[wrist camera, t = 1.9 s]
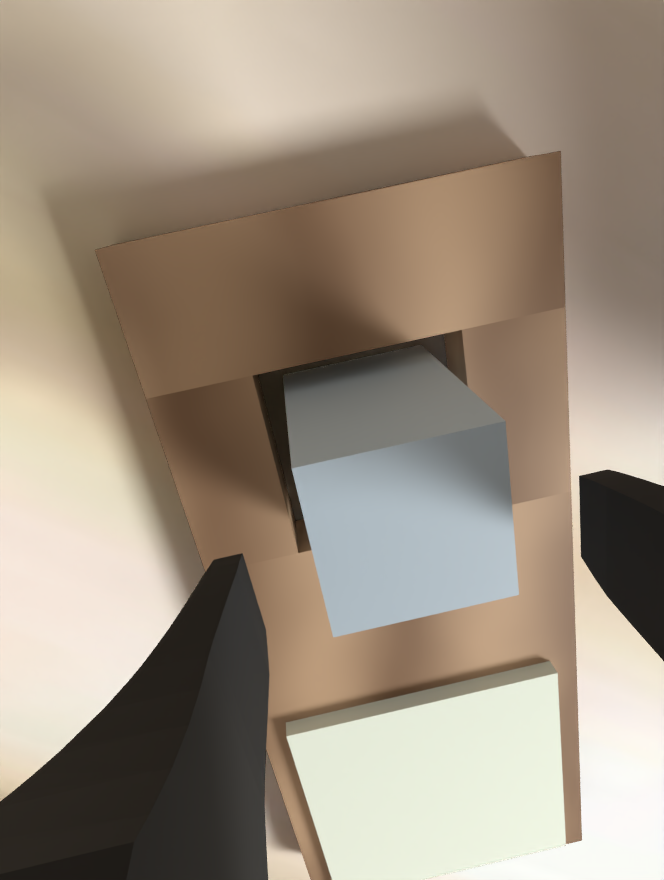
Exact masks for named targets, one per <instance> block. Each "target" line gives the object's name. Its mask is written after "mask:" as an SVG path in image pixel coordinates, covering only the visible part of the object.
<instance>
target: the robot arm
mask: <svg viewBox="0 0 664 880" xmlns="http://www.w3.org/2000/svg"><path fill="white" fill-rule="evenodd" d="M579 486H580V528H581V557H582V559H583V560H584V562H585V563H586V565H587V567H588V568H589V570H590V571H591V573H592V574H593V576H594V578H595V579H596V581H597V582H598V583H599V585H600V586H601V588H602V589H603V591H604V592H605V594H606V595H607V596H608V598H609V599H610V600H611V601H612V602H613V604H614V605H615V606H616V607H617V608H618V609H619V611H620V612H621V613H622V614H623V615H624V616H625V617H626V619H627V620H628V621H629V622H630V623H631V624H632V626H633V627H634V628H635V629H636V630H637V631H638V632H639V634H640V635H641V636H642V637H643V638H644V639H645V640H646V641H647V643H648V644H649V645H650V646H651V647H652V648H653V649H654V651H655V652H656V653H657V654H658V655H659V656H660V657H661V658H662V660H663V661H664V486H661V485H658V484H655V483H652V482H649V481H646V480H643V479H640V478H637V477H633V476H630V475H627V474H623V473H620V472H616V471H611V470H604V471H599V472H595V473H590V474H586V475H582V476H579ZM269 675H270V674H269V660H268V647H267V635H266V628H265V625H264V621H263V618H262V615H261V612H260V608H259V605H258V602H257V599H256V595H255V592H254V589H253V586H252V582H251V579H250V576H249V573H248V569H247V566H246V563H245V560H244V556H243V553H241V554H236V555H232V556H227V557H223V558H219V559H214V560H213V561H212V563H211V564H210V566H209V567H208V569H207V570H206V572H205V574H204V575H203V577H202V578H201V580H200V582H199V583H198V585H197V586H196V588H195V590H194V591H193V593H192V594H191V596H190V598H189V599H188V601H187V602H186V604H185V605H184V607H183V608H182V610H181V611H180V613H179V614H178V616H177V617H176V619H175V621H174V622H173V624H172V625H171V627H170V628H169V629H168V631H167V632H166V634H165V635H164V636H163V638H162V639H161V640H160V642H159V643H158V645H157V646H156V647H155V649H154V650H153V651H152V653H151V654H150V655H149V657H148V658H147V659H146V661H145V662H144V663H143V664H142V666H141V667H140V668H139V669H138V671H137V672H136V673H135V674H134V675H133V677H132V678H131V679H130V680H129V681H128V682H127V684H126V685H125V686H124V687H123V688H122V689H121V690H120V691H119V692H118V694H117V695H116V696H115V697H114V698H113V699H112V700H111V701H110V702H109V704H108V705H107V706H106V707H105V708H104V709H103V710H102V711H101V712H100V713H99V714H98V715H97V716H96V717H95V718H94V719H93V720H92V721H91V722H90V723H89V724H88V725H87V726H86V727H84V728H83V729H82V730H81V731H80V732H79V733H78V734H77V735H76V736H75V737H74V738H73V739H72V740H71V741H70V742H69V743H68V744H67V745H66V746H65V747H64V748H63V749H62V750H61V751H60V752H59V753H57V754H56V755H55V756H54V757H53V758H52V759H51V760H50V761H48V762H47V763H46V764H45V765H44V766H43V767H42V768H40V769H39V770H38V771H37V772H36V773H35V774H33V775H32V776H31V777H30V778H29V779H27V780H26V781H25V782H24V783H23V784H21V785H20V786H19V787H18V788H17V789H15V790H14V791H13V792H12V793H11V794H9V795H8V796H7V797H6V798H4V799H3V800H2V801H0V880H268V869H267V850H266V829H265V808H264V797H265V763H266V742H267V722H268V700H269Z"/></svg>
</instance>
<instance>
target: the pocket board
mask: <svg viewBox="0 0 664 880" xmlns="http://www.w3.org/2000/svg"><path fill="white" fill-rule="evenodd" d="M95 252H96V255H97V258H98V261H99V263H100V266H101V269H102V272H103V275H104V278H105V281H106V284H107V287H108V290H109V293H110V296H111V298H112V301H113V304H114V307H115V310H116V313H117V316H118V319H119V322H120V325H121V328H122V331H123V333H124V336H125V339H126V342H127V345H128V348H129V351H130V354H131V357H132V360H133V363H134V366H135V368H136V371H137V374H138V377H139V380H140V383H141V386H142V389H143V392H144V395H145V398H146V401H147V403H148V406H149V409H150V412H151V415H152V418H153V421H154V424H155V427H156V430H157V433H158V436H159V438H160V441H161V444H162V447H163V450H164V453H165V456H166V459H167V462H168V465H169V468H170V471H171V473H172V476H173V479H174V482H175V485H176V488H177V491H178V494H179V497H180V500H181V503H182V506H183V508H184V511H185V514H186V517H187V520H188V523H189V526H190V529H191V532H192V535H193V538H194V540H195V543H196V546H197V549H198V552H199V555H200V558H201V561H202V564H203V567H204V570H205V572H206V570H207V569H208V567H209V566H210V564H211V563H212V561H213V560H214V559H219V558H223V557H227V556H232V555H236V554H241V553H243V556H244V560H245V563H246V566H247V569H248V573H249V576H250V579H251V582H252V586H253V589H254V592H255V595H256V599H257V602H258V605H259V608H260V612H261V615H262V618H263V621H264V625H265V628H266V635H267V647H268V660H269V674H270V675H269V700H268V722H267V742H266V750H267V753H268V756H269V759H270V762H271V765H272V768H273V771H274V774H275V777H276V780H277V783H278V785H279V788H280V791H281V794H282V797H283V800H284V803H285V806H286V809H287V812H288V815H289V817H290V820H291V823H292V826H293V829H294V832H295V835H296V838H297V841H298V844H299V847H300V850H301V852H302V855H303V858H304V861H305V864H306V867H307V870H308V873H309V876H310V879H311V880H332V878H331V875H330V872H329V869H328V866H327V863H326V859H325V856H324V853H323V850H322V847H321V844H320V841H319V837H318V834H317V831H316V828H315V825H314V822H313V819H312V815H311V812H310V809H309V806H308V803H307V800H306V797H305V794H304V790H303V787H302V784H301V781H300V778H299V775H298V772H297V768H296V765H295V762H294V759H293V756H292V753H291V750H290V746H289V743H288V740H287V737H286V722H290V721H294V720H299V719H303V718H307V717H312V716H316V715H320V714H324V713H329V712H333V711H337V710H342V709H346V708H350V707H354V706H359V705H363V704H367V703H372V702H376V701H380V700H384V699H389V698H393V697H397V696H402V695H406V694H410V693H414V692H419V691H423V690H427V689H432V688H436V687H440V686H444V685H449V684H453V683H457V682H462V681H466V680H470V679H474V678H479V677H483V676H487V675H491V674H496V673H500V672H504V671H509V670H513V669H517V668H521V667H526V666H530V665H534V664H539V663H543V662H547V661H550V662H551V663H552V665H553V666H554V668H555V670H556V671H557V673H558V692H559V712H560V733H561V754H562V774H563V795H564V815H565V836H566V844H569V843H573V842H577V841H581V840H582V830H581V797H580V765H579V732H578V700H577V667H576V635H575V602H574V570H573V537H572V505H571V472H570V440H569V408H568V375H567V343H566V310H565V278H564V245H563V213H562V180H561V151H558V152H552V153H547V154H541V155H535V156H530V157H525V158H520V159H515V160H511V161H506V162H501V163H497V164H492V165H487V166H482V167H478V168H473V169H468V170H464V171H459V172H454V173H449V174H445V175H440V176H435V177H431V178H426V179H421V180H416V181H412V182H407V183H402V184H398V185H393V186H388V187H383V188H379V189H374V190H369V191H365V192H360V193H355V194H351V195H346V196H341V197H336V198H332V199H327V200H322V201H318V202H313V203H308V204H303V205H299V206H294V207H289V208H285V209H280V210H275V211H270V212H266V213H261V214H256V215H252V216H247V217H242V218H237V219H233V220H228V221H223V222H219V223H214V224H209V225H204V226H200V227H195V228H190V229H186V230H181V231H176V232H171V233H167V234H162V235H157V236H153V237H148V238H143V239H138V240H134V241H129V242H124V243H120V244H115V245H111V246H107V247H104V248H100V249H96V250H95ZM440 334H444V340H445V349H446V357H447V366H448V370H450V371H451V372H452V373H453V374H454V375H455V376H456V377H457V378H458V379H460V380H461V381H462V382H463V383H464V384H465V385H466V386H467V387H468V388H469V389H471V390H472V391H473V392H474V393H475V394H476V395H477V396H478V397H479V398H481V399H482V400H483V401H484V402H485V403H486V404H487V405H488V406H489V407H490V408H492V409H493V410H494V411H495V412H496V413H497V414H498V415H499V416H500V417H502V418H503V419H504V420H505V421H506V434H507V447H508V460H509V472H510V485H511V498H512V511H513V523H514V536H515V549H516V562H517V575H518V587H519V595H517V596H512V597H508V598H504V599H499V600H495V601H490V602H486V603H482V604H477V605H473V606H469V607H464V608H460V609H456V610H451V611H447V612H443V613H438V614H434V615H429V616H425V617H421V618H416V619H412V620H408V621H403V622H399V623H395V624H390V625H386V626H381V627H377V628H373V629H368V630H364V631H360V632H355V633H351V634H347V635H342V636H338V637H333V634H332V630H331V626H330V622H329V618H328V614H327V610H326V606H325V602H324V598H323V594H322V590H321V586H320V582H319V578H318V574H317V570H316V566H315V562H314V557H313V553H312V549H311V545H310V541H309V537H308V533H307V529H306V525H305V521H304V519H303V520H299V521H295V518H294V514H293V510H292V506H291V502H290V498H289V494H288V490H287V487H286V483H285V479H284V475H283V471H282V467H281V463H280V459H279V455H278V451H277V447H276V444H275V440H274V436H273V432H272V428H271V424H270V420H269V416H268V412H267V408H266V404H265V400H264V397H263V393H262V389H261V385H260V381H259V377H258V374H262V373H266V372H271V371H276V370H280V369H285V368H289V367H294V366H298V365H303V364H308V363H312V362H317V361H321V360H326V359H330V358H335V357H340V356H344V355H349V354H353V353H358V352H362V351H367V350H372V349H376V348H381V347H385V346H390V345H394V344H399V343H404V342H408V341H413V340H417V339H422V338H426V337H431V336H436V335H440Z"/></svg>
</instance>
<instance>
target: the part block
mask: <svg viewBox="0 0 664 880" xmlns="http://www.w3.org/2000/svg"><path fill="white" fill-rule="evenodd" d="M283 383H284V394H285V405H286V415H287V426H288V436H289V447H290V458H291V468H292V472H293V477H294V481H295V485H296V489H297V493H298V497H299V501H300V505H301V509H302V513H303V517H304V521H305V525H306V529H307V533H308V537H309V541H310V545H311V549H312V553H313V557H314V562H315V566H316V570H317V574H318V578H319V582H320V586H321V590H322V594H323V598H324V602H325V606H326V610H327V614H328V618H329V622H330V626H331V630H332V634H333V637H338V636H342V635H347V634H351V633H355V632H360V631H364V630H368V629H373V628H377V627H381V626H386V625H390V624H395V623H399V622H403V621H408V620H412V619H416V618H421V617H425V616H429V615H434V614H438V613H443V612H447V611H451V610H456V609H460V608H464V607H469V606H473V605H477V604H482V603H486V602H490V601H495V600H499V599H504V598H508V597H512V596H517V595H519V587H518V575H517V562H516V549H515V536H514V523H513V511H512V498H511V485H510V472H509V460H508V447H507V434H506V421H505V420H504V419H503V418H502V417H500V416H499V415H498V414H497V413H496V412H495V411H494V410H493V409H492V408H490V407H489V406H488V405H487V404H486V403H485V402H484V401H483V400H482V399H481V398H479V397H478V396H477V395H476V394H475V393H474V392H473V391H472V390H471V389H469V388H468V387H467V386H466V385H465V384H464V383H463V382H462V381H461V380H460V379H458V378H457V377H456V376H455V375H454V374H453V373H452V372H451V371H450V370H448V369H447V368H446V367H445V366H444V365H443V364H442V363H441V362H440V361H439V360H437V359H436V358H435V357H434V356H433V355H432V354H431V353H430V352H429V351H427V350H426V349H425V348H424V347H423V346H422V345H418V346H413V347H409V348H404V349H400V350H395V351H390V352H386V353H381V354H377V355H372V356H367V357H363V358H358V359H354V360H349V361H345V362H340V363H335V364H331V365H326V366H322V367H317V368H312V369H308V370H303V371H299V372H294V373H290V374H285V375H283Z"/></svg>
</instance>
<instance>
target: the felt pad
mask: <svg viewBox="0 0 664 880" xmlns="http://www.w3.org/2000/svg"><path fill="white" fill-rule="evenodd" d="M286 737H287V740H288V743H289V746H290V750H291V753H292V756H293V759H294V762H295V765H296V768H297V772H298V775H299V778H300V781H301V784H302V787H303V790H304V794H305V797H306V800H307V803H308V806H309V809H310V812H311V815H312V819H313V822H314V825H315V828H316V831H317V834H318V837H319V841H320V844H321V847H322V850H323V853H324V856H325V859H326V863H327V866H328V869H329V872H330V875H331V878H332V880H425V879H429V878H433V877H437V876H442V875H446V874H450V873H454V872H458V871H462V870H466V869H471V868H475V867H479V866H483V865H487V864H491V863H495V862H500V861H504V860H508V859H512V858H516V857H520V856H524V855H529V854H533V853H537V852H541V851H545V850H549V849H553V848H558V847H562V846H566V836H565V815H564V795H563V774H562V754H561V733H560V712H559V692H558V673H557V671H556V670H555V668H554V666H553V665H552V663H551V662H550V661H547V662H543V663H539V664H534V665H530V666H526V667H521V668H517V669H513V670H509V671H504V672H500V673H496V674H491V675H487V676H483V677H479V678H474V679H470V680H466V681H462V682H457V683H453V684H449V685H444V686H440V687H436V688H432V689H427V690H423V691H419V692H414V693H410V694H406V695H402V696H397V697H393V698H389V699H384V700H380V701H376V702H372V703H367V704H363V705H359V706H354V707H350V708H346V709H342V710H337V711H333V712H329V713H324V714H320V715H316V716H312V717H307V718H303V719H299V720H294V721H290V722H286Z"/></svg>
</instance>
